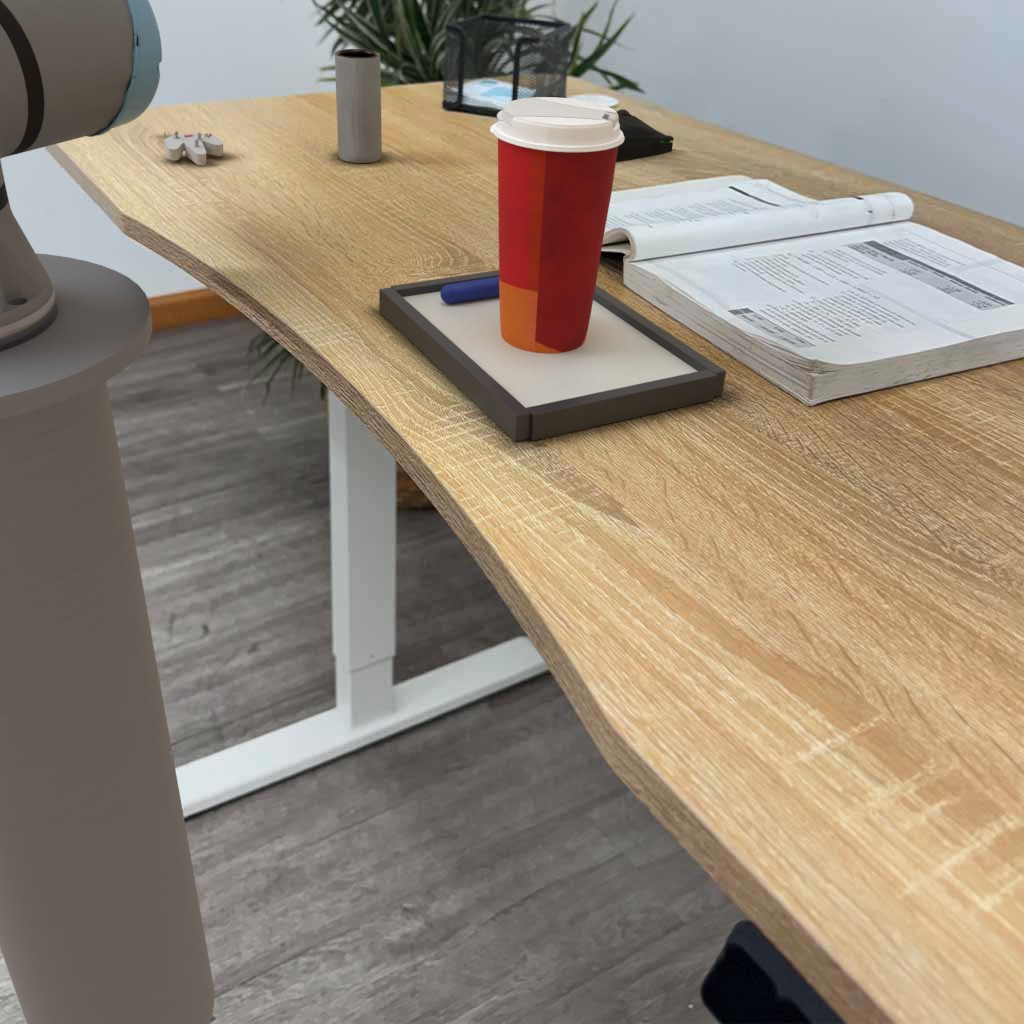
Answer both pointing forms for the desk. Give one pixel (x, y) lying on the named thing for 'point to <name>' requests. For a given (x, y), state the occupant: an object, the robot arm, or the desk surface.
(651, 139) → the computer mouse
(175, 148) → the game controller
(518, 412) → the whiteboard
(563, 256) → the coffee cup
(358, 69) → the grey cylindrical container
